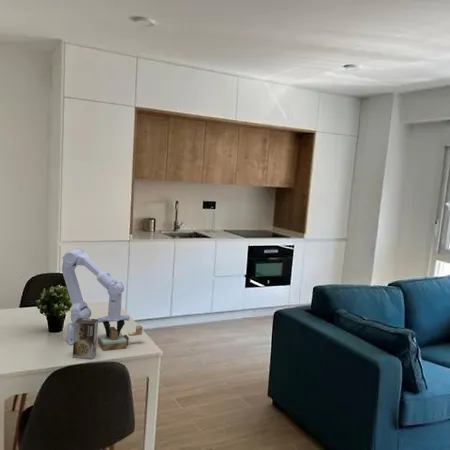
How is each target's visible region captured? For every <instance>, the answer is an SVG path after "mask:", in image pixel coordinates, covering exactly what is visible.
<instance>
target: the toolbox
mask: <svg viewBox="0 0 450 450" xmlns="http://www.w3.org/2000/svg"><path fill="white" fill-rule="evenodd" d="M123 336H124V337H125V339H126V340H127V342H124V343H115V344H105V345H103V343H102V342H101V341H100V339H99V338H98V337H97V345H99V347H100V349H101V350H102V351H112V350H116V351H117V350H124V349H127V348H128V347H127V346H129V337H130V336H129V335H127V334H123Z"/></svg>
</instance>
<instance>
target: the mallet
mask: <svg viewBox="0 0 450 450" xmlns="http://www.w3.org/2000/svg"><path fill="white" fill-rule="evenodd" d="M127 334H128V335H127V336H128V337H134V336H135V337H136V336H141V335H143V326H142V325H140V324H139V325H136V327H135V331H131V332H128V333H127Z"/></svg>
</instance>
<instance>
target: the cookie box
mask: <svg viewBox="0 0 450 450" xmlns="http://www.w3.org/2000/svg"><path fill="white" fill-rule="evenodd" d="M98 327H99V323H98V318H89V319H87V318H78V319H77V320H76V322H75V323H74V343H73V344H72V345H73V346H72V358H76V359H78V358H79V359H89V360H90V359H91V360H93V359H94V358H95V356H96V355H97V347H98V346H97V345H98V331H99V330H98V329H99V328H98Z"/></svg>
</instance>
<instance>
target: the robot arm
mask: <svg viewBox="0 0 450 450" xmlns="http://www.w3.org/2000/svg"><path fill="white" fill-rule="evenodd" d="M61 258H62V264H61V272H62V275H63V279H64V282H65V285H66V289H67V292H68V296H69V300H70V302H71V307H70V321H71V322H70V323H67V325H66V337H65V338H66V341H67V343H68V345H73V343H74V323H75V322H76V320H77V319H78V318H87V319H91V317H92V311H91V308H90V307H89V306H88V303H86V301H85V300H84V297H83V295H82V291H81V288H80V284H79V281H78V277H77V275H76V270H75V269H76V268H77V267H78V266H84V267H85V268H86V269H87V270H88V271H90V272H91V273H92V274H93V275H95V276H96V280H97V282H98V283H99V284H100V285H102V286H103V288H105V289H106V290H107V291H106V292H107V294H108V297H109V299H108V308H107V316H102V317H97V319H98V324H100V323H102V324H103V327H104V329H105V330H104V331H105V334H106V336H107V337H109V329H110V327H111V324H110V322H116V330H117V331H118V336H119V334H120V333H121V332H122V329H123V327H124V326H125V324H126V323H125V321H127V322H130V315H121V314H122V313H121V312H122V300H123V299H122V298H123V297H122V296H123V292H124V290H125V286H124V285H123V282H121V281H118V280H117V279H115V278H114V277H112V275H111V272H109V271H108V272H107V271H106V270H105V271H104V270H102V269H101V268H100V267H99V266H98V265H97V264H96V263H95V262H94V261H93V260H92V259H91V258H90V257H89V254H88V253H87V252H86V251H85V250H83V249H82V248H75V249H72V250H68V251H67V252H65V253H64V255H63V256H62V257H61Z"/></svg>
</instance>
